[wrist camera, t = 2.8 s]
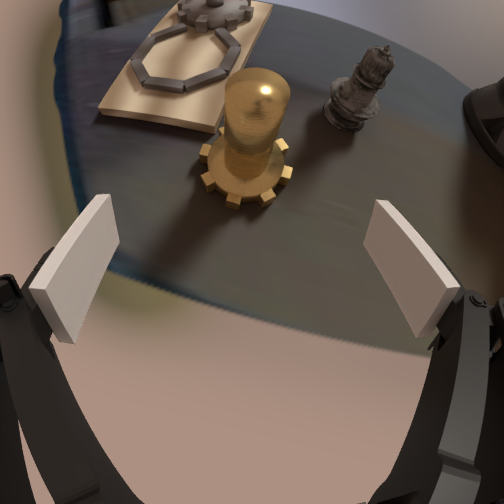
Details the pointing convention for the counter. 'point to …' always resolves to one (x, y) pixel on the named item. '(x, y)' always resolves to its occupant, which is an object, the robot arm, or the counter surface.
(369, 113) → the stone chess piece
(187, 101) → the gear board
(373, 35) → the counter surface
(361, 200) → the counter surface
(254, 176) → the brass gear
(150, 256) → the counter surface
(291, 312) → the counter surface
